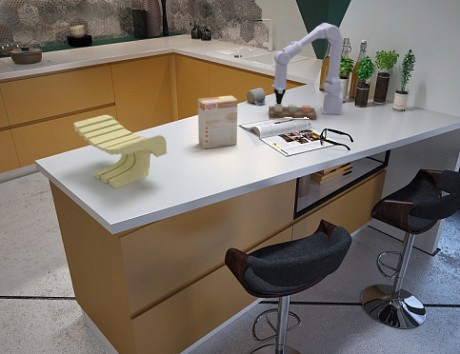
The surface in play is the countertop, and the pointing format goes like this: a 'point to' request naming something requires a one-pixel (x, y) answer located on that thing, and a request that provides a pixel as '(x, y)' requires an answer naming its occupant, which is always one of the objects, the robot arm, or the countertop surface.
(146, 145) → the slatted lounge chair
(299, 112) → the button panel
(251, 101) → the ceramic mug
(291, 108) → the sage button
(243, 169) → the countertop surface
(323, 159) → the countertop surface
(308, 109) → the terracotta button
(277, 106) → the cream button
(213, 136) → the coffeecake box
